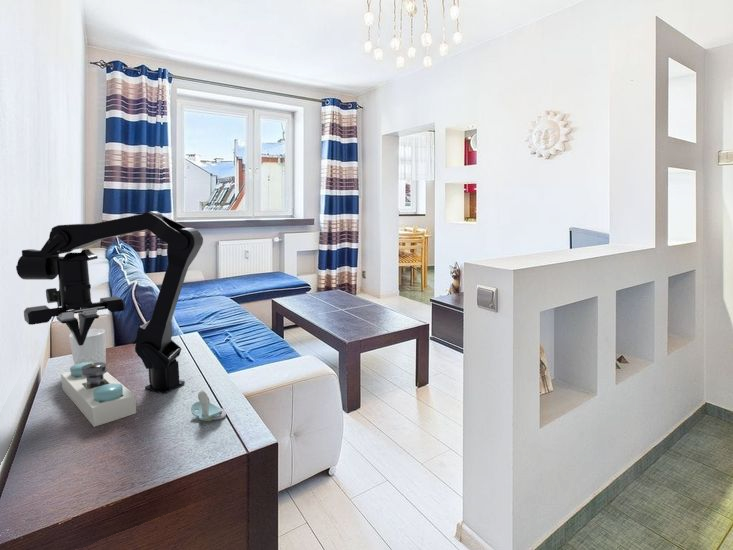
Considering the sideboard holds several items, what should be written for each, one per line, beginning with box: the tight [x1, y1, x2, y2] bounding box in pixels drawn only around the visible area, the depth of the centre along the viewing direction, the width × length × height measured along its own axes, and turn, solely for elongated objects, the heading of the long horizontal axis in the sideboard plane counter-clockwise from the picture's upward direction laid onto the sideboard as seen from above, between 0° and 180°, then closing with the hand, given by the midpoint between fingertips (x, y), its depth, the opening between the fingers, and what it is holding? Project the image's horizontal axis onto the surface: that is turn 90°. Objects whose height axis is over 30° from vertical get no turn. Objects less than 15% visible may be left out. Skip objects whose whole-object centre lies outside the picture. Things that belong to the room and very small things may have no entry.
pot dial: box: [81, 362, 108, 389], centre depth 94 cm, size 5×5×5 cm
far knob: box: [69, 362, 95, 378], centre depth 100 cm, size 5×5×5 cm
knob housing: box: [60, 370, 137, 428], centre depth 94 cm, size 25×8×4 cm, turn 47°
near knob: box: [93, 383, 123, 403], centre depth 88 cm, size 5×5×5 cm
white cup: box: [68, 328, 107, 365], centre depth 112 cm, size 8×8×10 cm
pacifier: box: [190, 389, 227, 422], centre depth 88 cm, size 7×6×6 cm
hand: (80, 345), depth 99 cm, fingers closed
